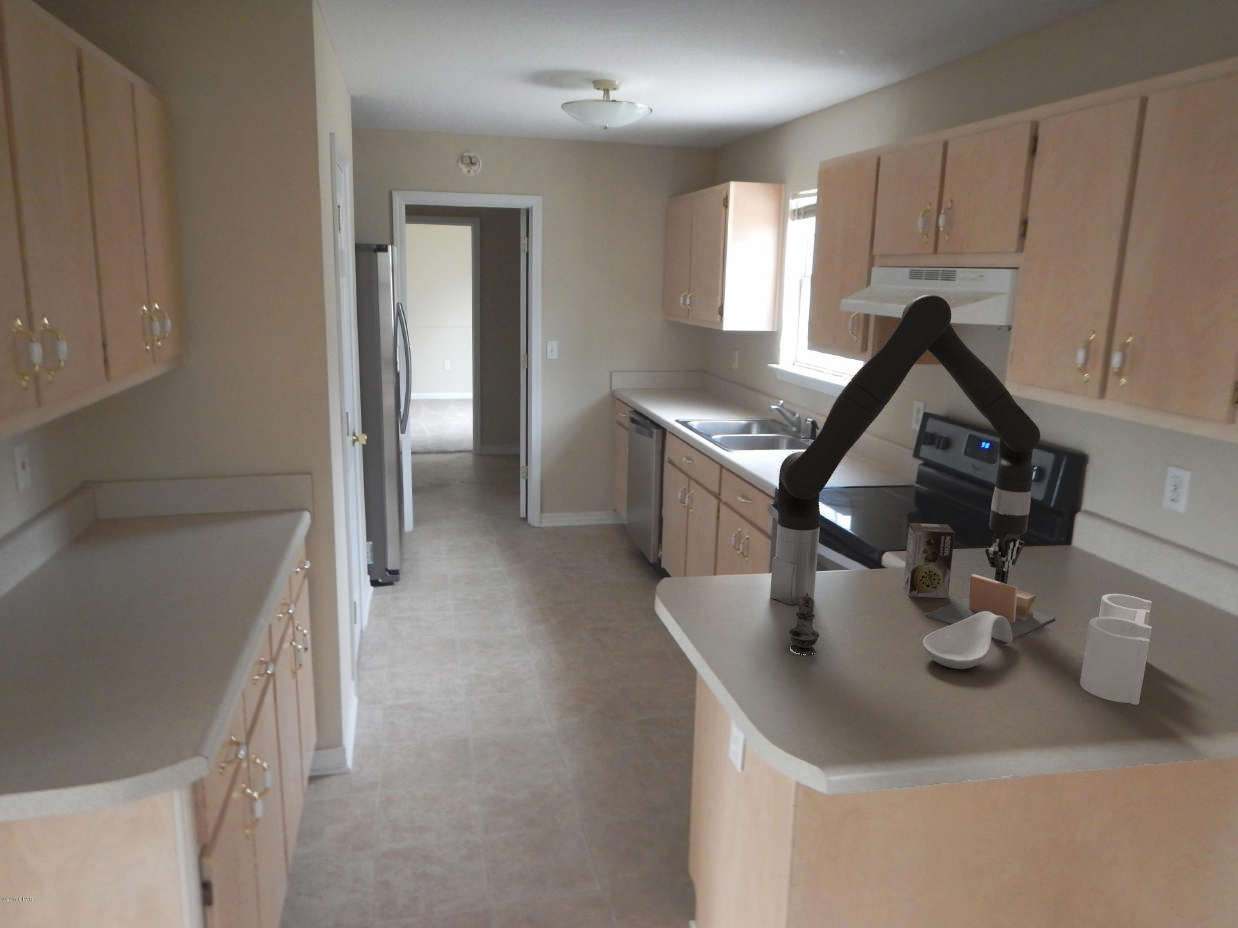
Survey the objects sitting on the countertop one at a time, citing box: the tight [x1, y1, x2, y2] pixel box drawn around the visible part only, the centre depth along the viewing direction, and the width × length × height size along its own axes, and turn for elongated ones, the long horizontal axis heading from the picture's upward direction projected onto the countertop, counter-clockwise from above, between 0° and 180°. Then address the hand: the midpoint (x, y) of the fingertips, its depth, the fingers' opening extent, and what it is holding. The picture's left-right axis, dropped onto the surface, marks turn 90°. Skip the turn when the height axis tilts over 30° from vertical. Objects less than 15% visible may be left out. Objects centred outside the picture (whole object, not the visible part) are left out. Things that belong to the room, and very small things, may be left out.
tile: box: [969, 573, 1018, 623], centre depth 193 cm, size 4×10×8 cm, turn 39°
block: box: [1015, 589, 1037, 621], centre depth 196 cm, size 4×12×5 cm, turn 39°
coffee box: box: [902, 522, 955, 599], centre depth 206 cm, size 9×6×16 cm
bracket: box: [1079, 593, 1153, 705], centre depth 167 cm, size 25×10×12 cm, turn 147°
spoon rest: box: [922, 611, 1013, 670], centre depth 173 cm, size 24×12×7 cm, turn 130°
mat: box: [924, 596, 1056, 644], centre depth 194 cm, size 22×18×1 cm
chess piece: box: [788, 593, 820, 656], centre depth 173 cm, size 6×6×12 cm
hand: (1000, 585), depth 195 cm, fingers closed
